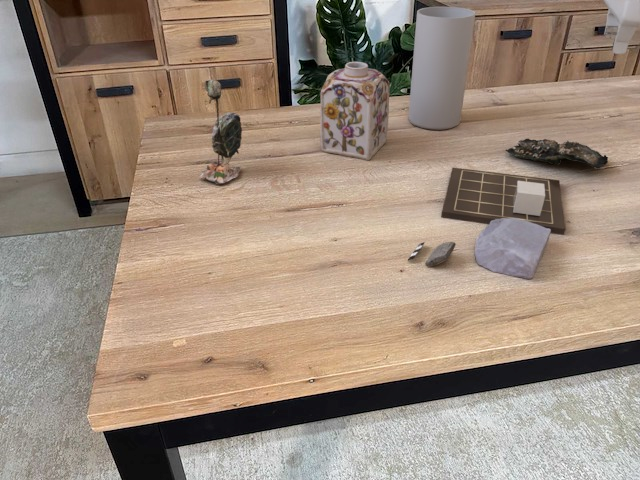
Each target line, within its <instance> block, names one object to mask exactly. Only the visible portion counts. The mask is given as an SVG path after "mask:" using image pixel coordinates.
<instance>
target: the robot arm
mask: <svg viewBox="0 0 640 480" xmlns="http://www.w3.org/2000/svg"><path fill="white" fill-rule="evenodd" d="M603 3H604V4H605V5H606V7H607V8H608V10H607V13H606V14H607V15H606V24H605V28H604V33H603V36H604V37H605V39H607V40H613V43H612V46H611V51H612V53H613V54H614V55H615V54H616V55H624V54H626V52H627V50H628V47H629V44H630V41H631V40H632V38H633V37H634V35H635V32H636V30H637V27H639V28H640V0H603Z"/></svg>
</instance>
